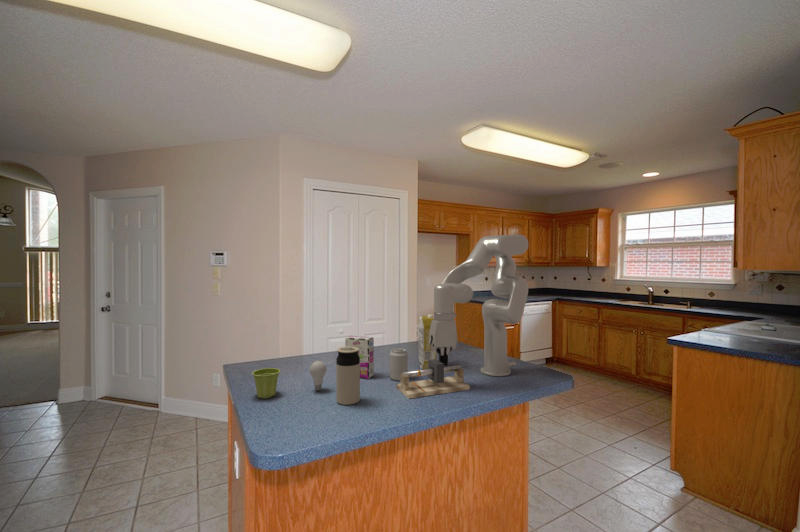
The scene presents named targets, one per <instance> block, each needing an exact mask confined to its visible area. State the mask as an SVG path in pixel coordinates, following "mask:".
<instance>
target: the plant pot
mask: <svg viewBox="0 0 800 532" xmlns="http://www.w3.org/2000/svg"><path fill="white" fill-rule="evenodd" d="M280 373H281V370H280V369H279V368H274V367H268V368H260V369H257V370H254V371H253V372H251V375H252V376H253V379H254V384H255V390H256V396H257V398H260V399H270V398H272V397H274V396H276V393H277V384H278V378H279V376H280V375H279V374H280Z"/></svg>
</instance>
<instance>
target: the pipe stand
mask: <svg viewBox="0 0 800 532" xmlns="http://www.w3.org/2000/svg"><path fill="white" fill-rule="evenodd" d="M464 371H465V369H464V368H462V369H459V370H458V371H454V375H453V376H452V375H451V376H444V383H438V384H437V383H435V382H434V381H432V380H431V379H429V378H428V379H422V380H415V381H410V377H409V376H404V375H402V374H401V381H400V382H399V383H395V388H396V389H397V390H398V391H399V392H400V393H401V394H402V395H404V396H405V398H407V399H408V400H409V399H410V398H411V399H415V398H422V397H423V396H424V397H430V396H437V395H442V394H443V395H444V394H449V393H455V392H462V391H468V390H470V389H471V385H470V384H468V383H466V382H465V379H464V378H465V377H464V375H465V372H464ZM436 394H437V395H436ZM429 395H430V396H429ZM424 397H423V398H424Z"/></svg>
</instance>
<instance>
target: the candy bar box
mask: <svg viewBox="0 0 800 532" xmlns="http://www.w3.org/2000/svg"><path fill="white" fill-rule="evenodd" d="M374 341H375V340H374V337H372V336H371V337H370V336H361V335H360V336H357V335H349V336H346V337H345V347H357V348H359V351H358V355H359V357H360V379H366V380H370V379H371V378H373V377H374V375H375V371H374V370H375V365H374V364H375V363H374V361H375V360H374V359H375V357H374V354H375V353H374V350H375V349H374V346H375V345H374V343H375V342H374Z"/></svg>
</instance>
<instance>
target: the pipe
mask: <svg viewBox="0 0 800 532" xmlns="http://www.w3.org/2000/svg"><path fill="white" fill-rule="evenodd" d="M459 369H463V368H462V366H461V364H460V365H452V366H444V374H445V373H453V372H454V373H455V371H458V370H459ZM431 374H434V369H416V370H411V371H410V370H409V371H408V372H403V373H402V375H404V376H409V378H414V377H422V376H428V375H431Z"/></svg>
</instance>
